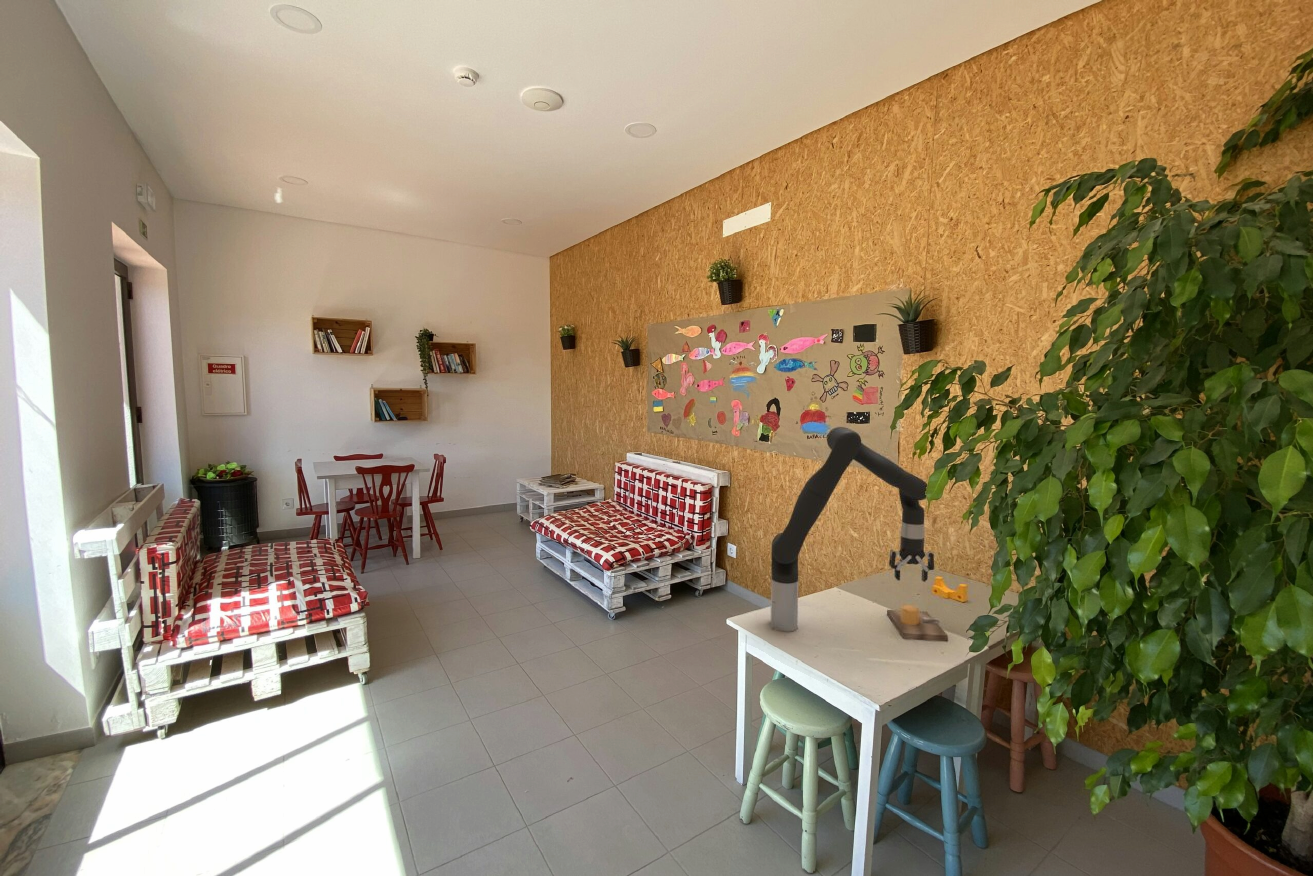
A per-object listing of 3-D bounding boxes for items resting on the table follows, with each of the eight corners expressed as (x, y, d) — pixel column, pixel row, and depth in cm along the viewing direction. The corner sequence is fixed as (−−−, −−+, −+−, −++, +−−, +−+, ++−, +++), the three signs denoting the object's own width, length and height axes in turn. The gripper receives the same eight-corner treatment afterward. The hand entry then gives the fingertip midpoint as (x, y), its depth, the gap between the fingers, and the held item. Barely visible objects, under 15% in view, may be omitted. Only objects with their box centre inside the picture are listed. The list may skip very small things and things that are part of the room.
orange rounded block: (903, 624, 188) (904, 610, 187) (899, 618, 193) (899, 604, 193) (920, 625, 187) (920, 611, 186) (915, 618, 192) (915, 605, 192)
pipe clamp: (931, 593, 222) (932, 578, 222) (938, 591, 225) (938, 576, 224) (960, 603, 212) (961, 587, 212) (966, 600, 214) (967, 585, 214)
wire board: (903, 638, 181) (903, 623, 181) (886, 614, 201) (887, 600, 200) (949, 641, 179) (949, 625, 178) (928, 616, 199) (928, 602, 198)
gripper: (894, 537, 185) (892, 583, 186) (938, 538, 183) (936, 585, 184) (888, 531, 192) (886, 576, 194) (930, 533, 190) (928, 577, 192)
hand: (910, 580), depth 189 cm, fingers open, 8 cm apart
